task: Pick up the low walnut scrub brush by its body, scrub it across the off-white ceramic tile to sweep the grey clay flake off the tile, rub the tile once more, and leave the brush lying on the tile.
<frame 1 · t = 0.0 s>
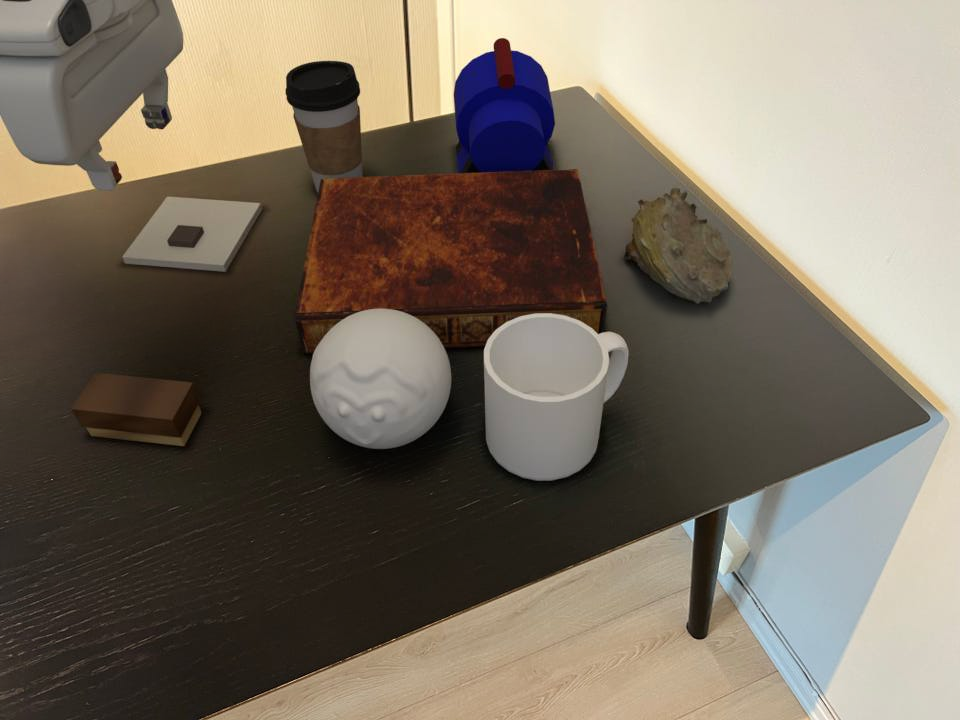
hand: (136, 153, 66), 21 cm above the table, tool pointing down, fingers open, 8 cm apart
crumb: (186, 239, 91), point 1 cm above the table, touching tile
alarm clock: (505, 167, 102), on the table
brush: (147, 424, 73), on the table
book: (452, 274, 87), on the table
decorative ball: (388, 425, 72), on the table
seashell: (674, 273, 86), on the table
coffee cup: (339, 187, 100), on the table
mug: (554, 433, 71), on the table
tile: (196, 235, 93), on the table
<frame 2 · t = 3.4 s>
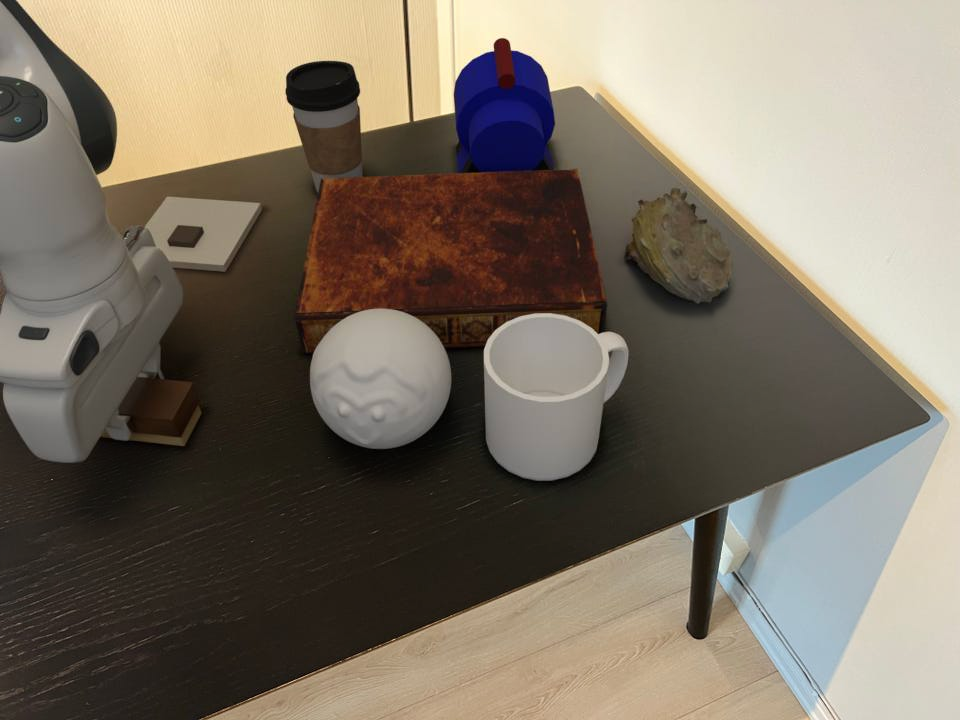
hand: (139, 409, 71), 2 cm above the table, tool pointing down, fingers closed on brush, 4 cm apart
brush: (147, 424, 73), on the table, touching gripper
everything else where it was.
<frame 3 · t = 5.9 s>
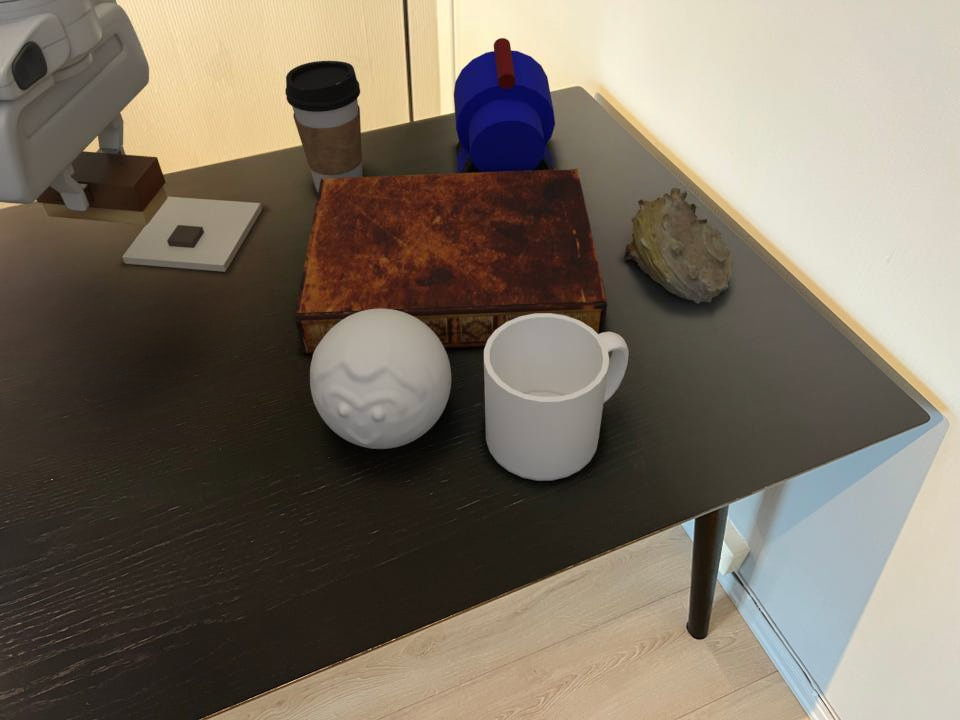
hand: (99, 186, 67), 19 cm above the table, tool pointing down, fingers closed on brush, 4 cm apart
brush: (108, 207, 68), point 17 cm above the table, touching gripper
everything else where it was.
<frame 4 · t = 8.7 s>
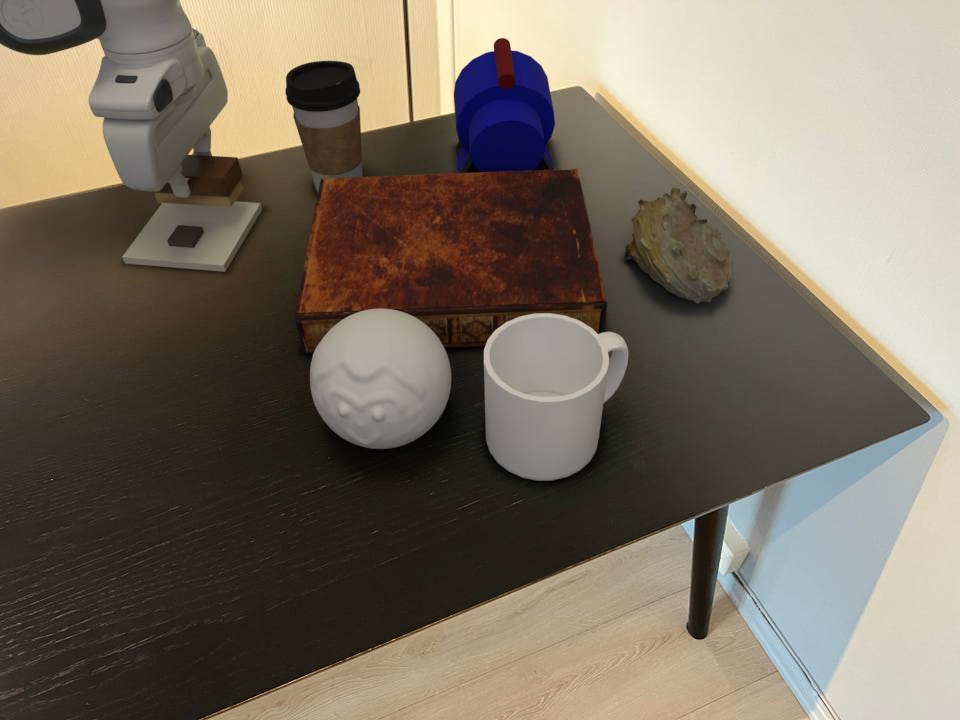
hand: (195, 180, 91), 6 cm above the table, tool pointing down, fingers closed on brush, 4 cm apart
brush: (201, 195, 92), point 4 cm above the table, touching gripper
everything else where it was.
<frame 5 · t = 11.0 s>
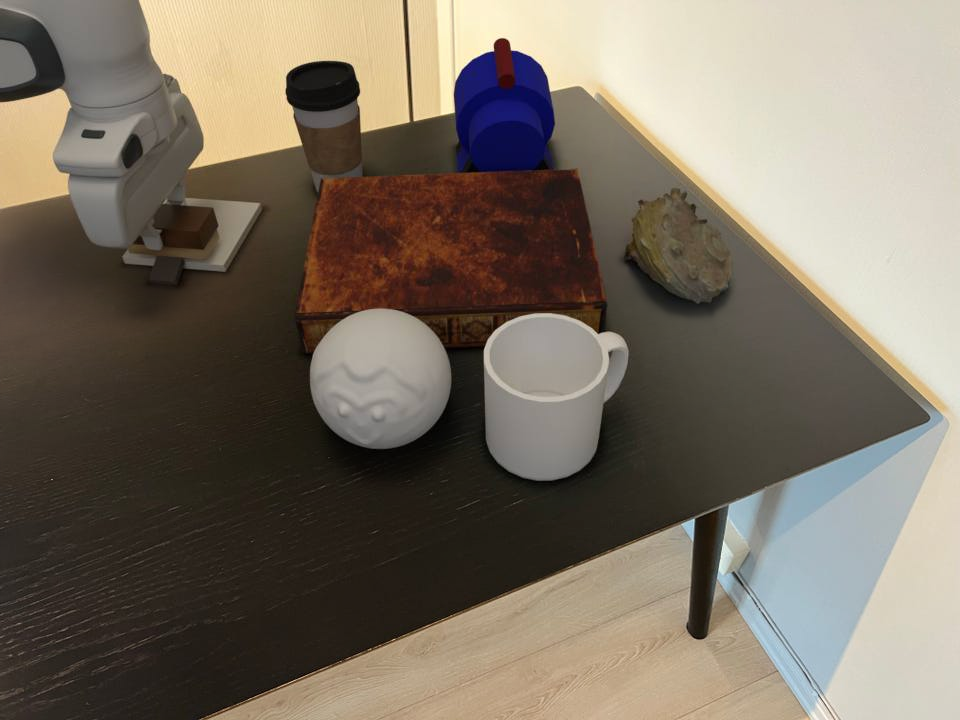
hand: (168, 230, 87), 4 cm above the table, tool pointing down, fingers closed on brush, 4 cm apart
crumb: (168, 272, 87), point 1 cm above the table, tilted 20°
brush: (175, 245, 89), point 2 cm above the table, touching gripper
everything else where it was.
when the fingers open (3 cm above the table, at t = 14.3 s): brush stays where it is, resting on tile.
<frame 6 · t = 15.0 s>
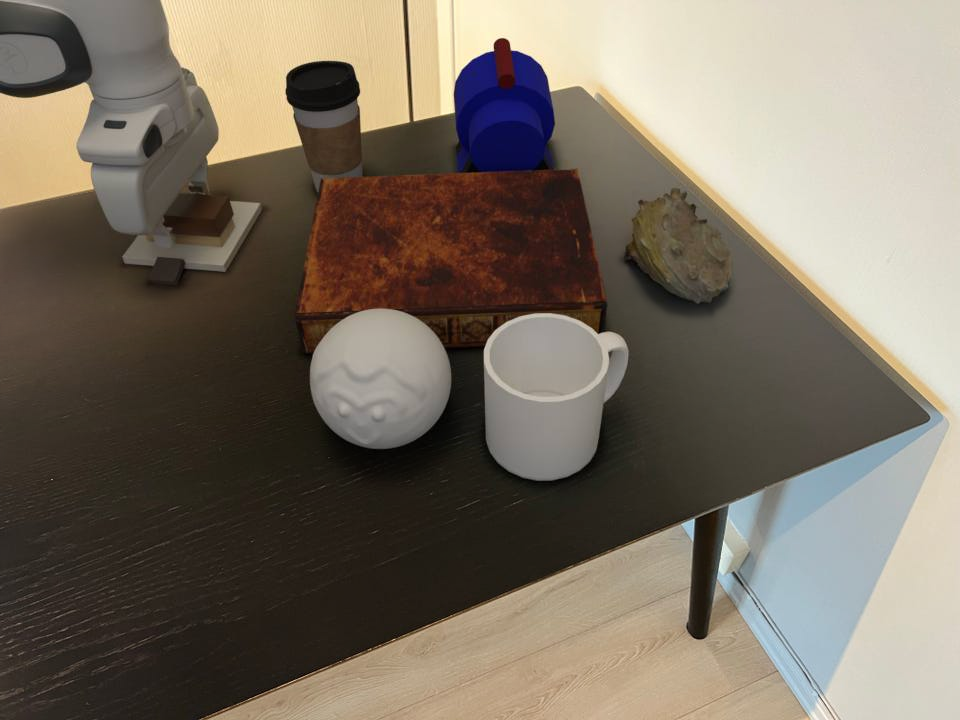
hand: (185, 219, 90), 3 cm above the table, tool pointing down, fingers open, 8 cm apart
crumb: (168, 273, 87), on the table, tilted 17°, touching tile
brush: (191, 233, 91), point 1 cm above the table, touching tile
everything else where it was.
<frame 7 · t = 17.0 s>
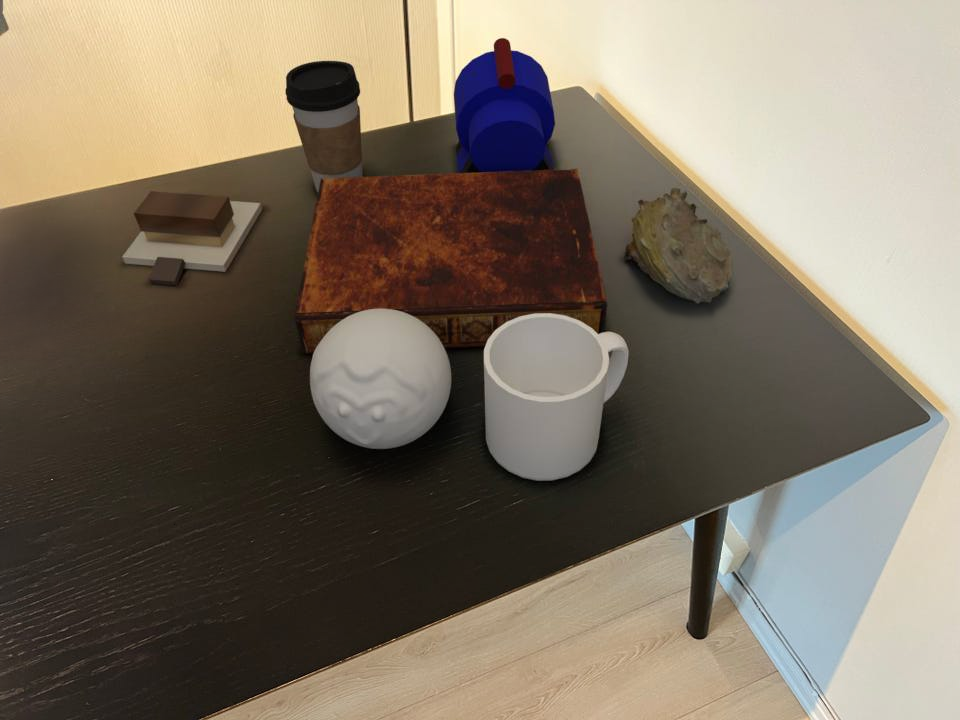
nothing on the table moved.
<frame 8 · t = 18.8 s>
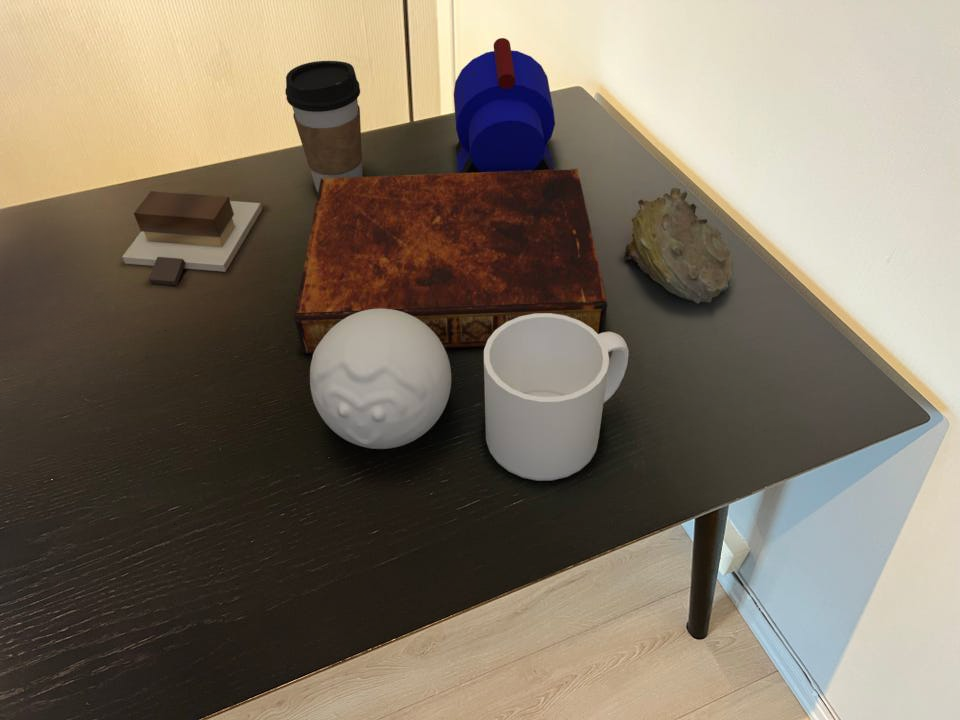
nothing on the table moved.
at the end: crumb on the table; brush inside the target area on the tile (1.0 cm from its centre), point 1.0 cm above the tile's base; the gripper is holding nothing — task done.
